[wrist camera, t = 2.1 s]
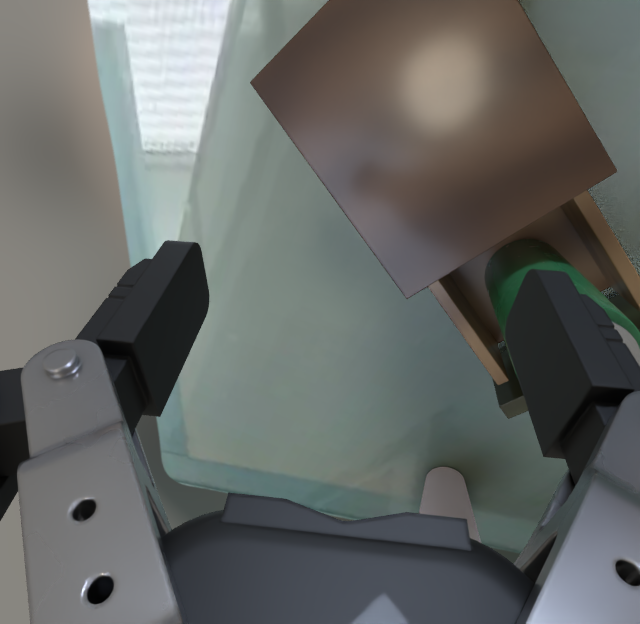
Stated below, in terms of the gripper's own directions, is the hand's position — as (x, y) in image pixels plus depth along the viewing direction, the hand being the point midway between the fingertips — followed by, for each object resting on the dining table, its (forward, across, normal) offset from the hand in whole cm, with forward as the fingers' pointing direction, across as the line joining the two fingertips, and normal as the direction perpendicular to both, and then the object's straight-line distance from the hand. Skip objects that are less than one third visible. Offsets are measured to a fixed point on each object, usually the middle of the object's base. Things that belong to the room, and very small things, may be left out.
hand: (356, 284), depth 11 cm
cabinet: (+24, -4, +3) cm, 24 cm away
